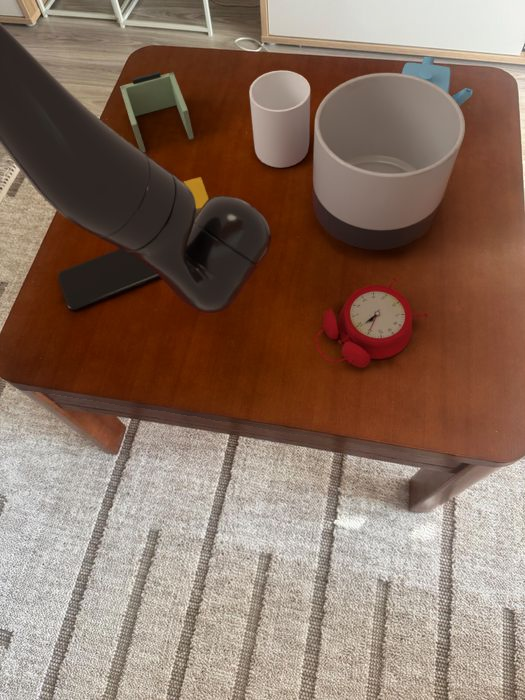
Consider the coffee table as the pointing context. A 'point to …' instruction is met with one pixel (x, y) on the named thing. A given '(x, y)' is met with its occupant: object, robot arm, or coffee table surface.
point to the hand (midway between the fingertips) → (199, 231)
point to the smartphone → (103, 278)
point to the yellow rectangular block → (197, 191)
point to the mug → (280, 117)
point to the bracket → (154, 99)
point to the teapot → (435, 77)
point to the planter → (383, 158)
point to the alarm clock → (370, 325)
